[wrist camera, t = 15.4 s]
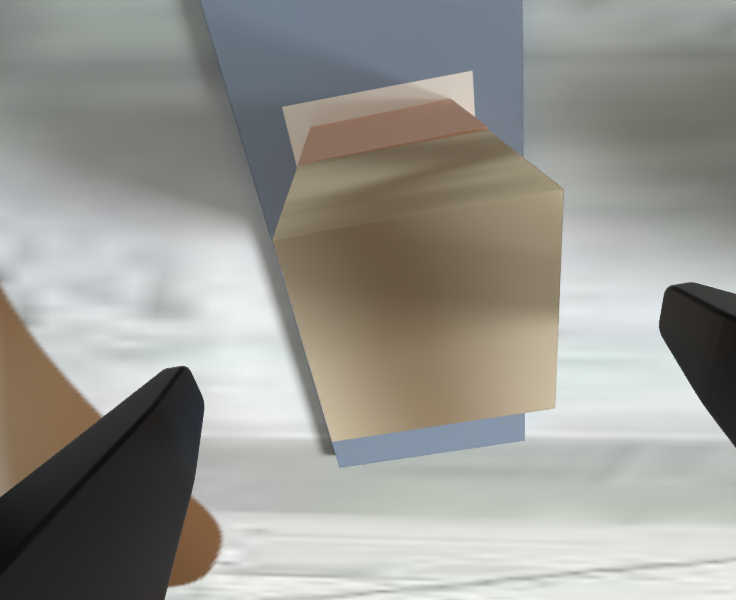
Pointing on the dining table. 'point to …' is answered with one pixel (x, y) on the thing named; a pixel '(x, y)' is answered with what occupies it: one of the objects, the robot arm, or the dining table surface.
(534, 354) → the beech block
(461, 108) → the terracotta block
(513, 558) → the dining table surface
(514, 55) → the baseplate
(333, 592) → the dining table surface
